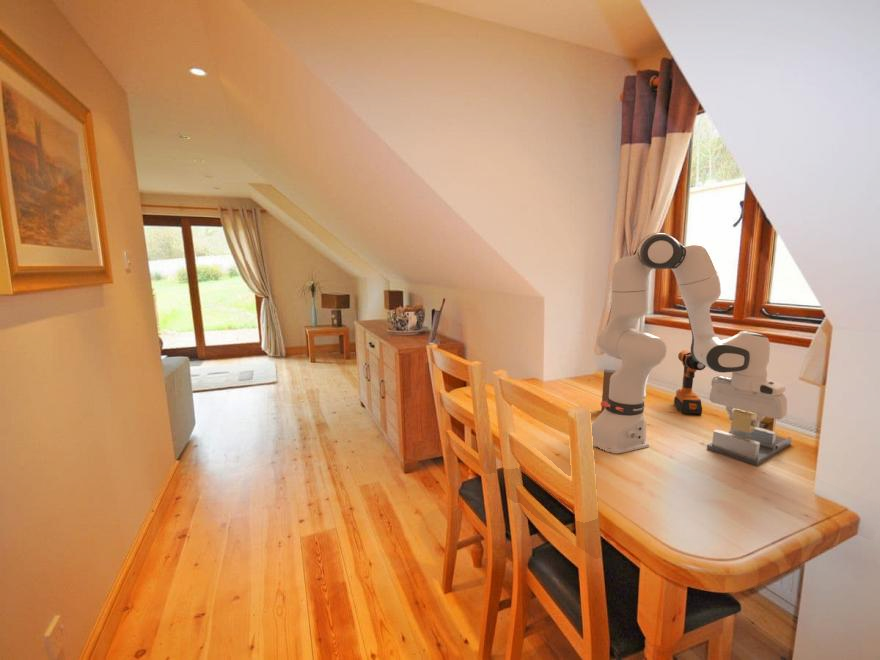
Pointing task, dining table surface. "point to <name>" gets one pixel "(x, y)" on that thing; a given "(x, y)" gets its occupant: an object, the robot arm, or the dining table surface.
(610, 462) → the dining table surface
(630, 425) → the robot arm
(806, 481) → the dining table surface
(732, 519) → the dining table surface
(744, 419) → the brass block
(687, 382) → the power drill
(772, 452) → the vise base
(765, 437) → the sliding jaw
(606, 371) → the brown tall block
